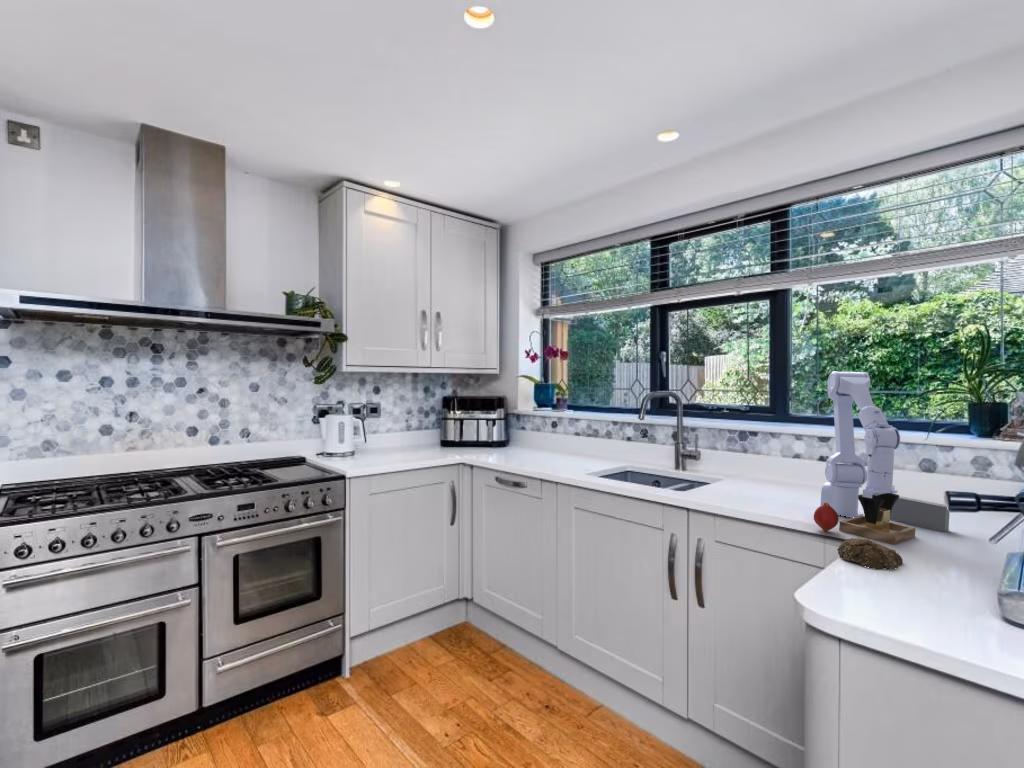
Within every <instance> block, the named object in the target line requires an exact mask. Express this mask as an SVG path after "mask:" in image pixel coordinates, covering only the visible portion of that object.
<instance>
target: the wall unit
mask: <svg viewBox="0 0 1024 768" xmlns="http://www.w3.org/2000/svg"><path fill="white" fill-rule="evenodd" d="M946 505H947V504H943V503H942V504H941V503H938V502H933V501H928V500H921V499H916V498H912V497H905V496H901V495H899V498H898V499H897V501H896V502H895V504H894V505H893V508H892V510H891V513H890V519H891V520H890V521H894V520H895V522H900V523H903V524H907V525H912V526H916V527H922V528H924V529H925V528H926V529H931V530H935V531H939V532H941V533H942V532H943V533H945V532H948V531H949V530H950V529H949V528H950V516H951V515H950V513H951V512H949V511H948V510H947V506H946Z"/></svg>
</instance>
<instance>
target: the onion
mask: <svg viewBox="0 0 1024 768" xmlns="http://www.w3.org/2000/svg"><path fill="white" fill-rule="evenodd" d="M813 520H814V523H816V525H817V526H818V527H819V528H821V531H823V532H828V531H830V530H832V529H834V528H836V526H837V525H838V524H839V521H840V520H839V515H838V514H837V512H836V511H835V510H834V509H833V508H832V507H831V506H830V505H829V504H828V503H827V502H825V503H824V505H822V506H821V505H820V506H819V507H817V508H816V509H815V511H814V513H813Z"/></svg>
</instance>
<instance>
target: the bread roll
mask: <svg viewBox="0 0 1024 768" xmlns="http://www.w3.org/2000/svg"><path fill="white" fill-rule="evenodd" d="M836 550H837V554H838V555H839V558H840V559H841V558H842V559H841V560H843V561H846V562H852V563H856V564H859V565H861V566H862V565H863V566H862V567H864V566H866V567H869V568H868V569H870V568H875V569H874V570H884V569H883V568H886V569H885V570H888V569H894V570H896V569H895V568H898V567H900V566H902V564H903V565H904V563H903V562H904V561H903V558H902V556H901V555H900V553H898V552H897V551H896V550H895V549H893V548H889V547H887V546H885V545H882V544H880V543H877V542H875V541H874V540H871V539H870V538H859V537H852V538H847V539H845V540H844V541H842V542H841V543H840V545H839V546H838V548H837V549H836ZM866 567H865V568H866Z"/></svg>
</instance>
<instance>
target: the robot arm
mask: <svg viewBox="0 0 1024 768" xmlns="http://www.w3.org/2000/svg"><path fill="white" fill-rule="evenodd" d="M826 382H827V384H826V385H827V394H828V395H827V397H828V399H830V400H832V403H833V418H834V422H833V423H834V436H835V453H833V454H832V455H831V456H829V457H828V458H826V463H825V468H824V469H825V471H824V474H825V475H824V476H825V479H826V480H827V481H828V482H827V481H826V482H824V483H823V485H822V487H821V489H820V506H822V505H824V503H825V502H827V503H828V504H829V505H830V506H831V507H832V508H833V509H834V510H835V511H836V512H837V514H838V516H840V515H841V516H840V517H844V516H846V517H845V518H848V517H850V518H853V517H857V516H861V515H862V516H865V519H866V522H868V523H872V524H876V522H877V518H878V513H879V510H880V508H884V509H889V510H890V513H891V510H892V508H893V505H894V504H895V502H896V501H897V499H898V498H899V496H900V494H898V490H897V489H895V485H894V484H893V480H894V464H895V463H894V462H895V450H896V449H898V448H899V446H900V444H901V435H900V432H899V430H898V428H896V427H894V426H893V425H890V424H889V423H888V420H887V418H886V417H885V415H884V412H883V411H882V408H880V407H876V406H875V404H874V402H873V399H872V396H871V393H870V391H869V390H870V388H871V387H870V386H871V377H870V375H869V373H867V372H866V371H862V372H857V371H836V370H834V371H831V372H830V373H829V376H828V378H827V381H826ZM853 403H855V404H856V406H857V407H858V410H859V412H858V414H857V417H858V419H859V421H860V423H861V425H862V427H863V430H864V432H865V433H864V437H863V440H864V444H865V451H866V452H865V453H866V454H867V465H866V463H865V460H864V459H862V458H861V457H860V456H858V455H857V454H856V448H855V446H856V445H855V432H854V431H855V429H854V428H855V427H854V416H853V415H854V413H853ZM866 466H867V469H866ZM864 484H866V485H865V486H864V489H862V494H860V488H863V487H862V486H863V485H864ZM859 503H860V505H861V507H862V510H863V512H859ZM850 518H849V519H850Z"/></svg>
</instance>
